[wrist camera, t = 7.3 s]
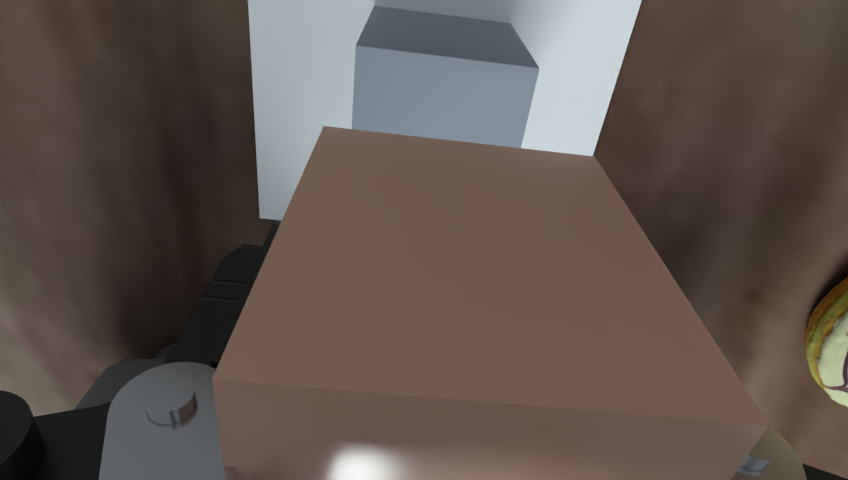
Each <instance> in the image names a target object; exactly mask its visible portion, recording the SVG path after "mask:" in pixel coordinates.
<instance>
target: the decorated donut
mask: <svg viewBox="0 0 848 480" xmlns="http://www.w3.org/2000/svg"><path fill="white" fill-rule="evenodd" d="M809 318H810V319H809V323H808V325H807V328H806V335H805V341H804V343H805V352H806V357H807V360H808V365H809V368H810V371H811V373H812V376H813V377H814V379H815V380H816V381H817V383H818V384H819V385H820V386H821V387H822V388H823V389H824V390H825V391H826V392H827V393H828V394H829V396H830V398H831V399H832V400H834V401H836V402H837V403H840V404H842V405H845V406H847V407H848V276H847V277H846V278H845V279H844V280H843V281H842V282H840V283H839V284H838V285H836V286H835V287H833V289H832V290H831V291H830V292H829V293H828V294H827V296H825V297H824V298H823V299H822V300H821V301H820V303H819V304H818V305H817V307H816V308H815V309H814V311H813V313H812V315H811V316H809Z"/></svg>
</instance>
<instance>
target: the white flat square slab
mask: <svg viewBox="0 0 848 480" xmlns="http://www.w3.org/2000/svg"><path fill="white" fill-rule="evenodd" d="M641 1H642V0H248V9H249V28H250V46H251V65H252V84H253V102H254V121H255V139H256V158H257V176H258V195H259V213H260V218H263V219H273V220H282V219H283V217H284V214H285V212H286V210H287V208H288V205H289V203H290V201H291V199H292V196H293V194H294V192H295V190H296V187H297V185H298V183H299V180H300V178H301V176H302V174H303V171H304V169H305V167H306V165H307V162H308V160H309V158H310V156H311V153H312V151H313V149H314V146H315V144H316V142H317V140H318V137H319V135H320V133H321V131H322V128H323V126H329V127H338V128H346V129H352V111H353V91H354V70H355V50H356V44H357V42H358V39H359V37H360V35H361V33H362V31H363V29H364V26H365V24H366V22H367V20H368V18H369V15H370V13H371V11H372V9H373V7H374V6H381V7H389V8H396V9H404V10H412V11H420V12H427V13H435V14H443V15H451V16H458V17H466V18H474V19H482V20H489V21H497V22H505V23H511V25H512V26H513V28H514V29H515V31H516V33H517V34H518V36H519V37H520V39H521V40H522V42H523V43H524V45H525V46H526V48H527V50H528V51H529V53H530V54H531V56H532V57H533V59H534V60H535V62H536V63H537V65H538V67H539V68H540V69H539V73H538V77H537V82H536V86H535V90H534V94H533V99H532V103H531V107H530V112H529V116H528V120H527V124H526V129H525V133H524V137H523V141H522V146H521V148H524V149H533V150H542V151H551V152H559V153H568V154H577V155H586V156H593V153H594V150H595V147H596V144H597V141H598V137H599V134H600V131H601V128H602V125H603V122H604V118H605V115H606V112H607V109H608V106H609V103H610V99H611V96H612V93H613V90H614V87H615V83H616V80H617V77H618V74H619V71H620V68H621V64H622V61H623V58H624V55H625V52H626V49H627V45H628V42H629V39H630V36H631V33H632V29H633V26H634V23H635V20H636V17H637V14H638V10H639V7H640V4H641Z"/></svg>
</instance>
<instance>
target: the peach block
mask: <svg viewBox="0 0 848 480" xmlns="http://www.w3.org/2000/svg"><path fill="white" fill-rule="evenodd" d="M212 384H213V392H214V399H215V406H216V414H217V421H218V429H219V436H220V443H221V451H222V458H223V465H224V466H226V467H237V476H238V480H731V478H732V477H733V476H734V474H735V473H736V471H737V470H738V469H739V467H740V466H741V464H742V463H743V462H744V460H745V459H746V457H747V456H748V454H749V453H750V452H751V450H752V449H753V447H754V446H755V445H756V443H757V442H758V440H759V439H760V438H761V436H762V435H763V433H764V432H765V431H766V429H767V428H768V426H769V424H768V422H767V421H766V419H765V418H764V416H763V415H762V413H761V412H760V410H759V408H758V407H757V405H756V404H755V402H754V401H753V399H752V398H751V396H750V395H749V393H748V392H747V390H746V388H745V387H744V385H743V384H742V382H741V381H740V379H739V378H738V376H737V375H736V373H735V372H734V370H733V368H732V367H731V365H730V364H729V362H728V361H727V359H726V358H725V356H724V355H723V353H722V352H721V350H720V349H719V347H718V345H717V344H716V342H715V341H714V339H713V338H712V336H711V335H710V333H709V332H708V330H707V329H706V327H705V325H704V324H703V322H702V321H701V319H700V318H699V316H698V315H697V313H696V312H695V310H694V309H693V307H692V306H691V304H690V302H689V301H688V299H687V298H686V296H685V295H684V293H683V292H682V290H681V289H680V287H679V286H678V284H677V282H676V281H675V279H674V278H673V276H672V275H671V273H670V272H669V270H668V269H667V267H666V266H665V264H664V262H663V261H662V259H661V258H660V256H659V255H658V253H657V252H656V250H655V249H654V247H653V246H652V244H651V243H650V241H649V239H648V238H647V236H646V235H645V233H644V232H643V230H642V229H641V227H640V226H639V224H638V223H637V221H636V219H635V218H634V216H633V215H632V213H631V212H630V210H629V209H628V207H627V206H626V204H625V203H624V201H623V199H622V198H621V196H620V195H619V193H618V192H617V190H616V189H615V187H614V186H613V184H612V183H611V181H610V180H609V178H608V176H607V175H606V173H605V172H604V170H603V169H602V167H601V166H600V164H599V163H598V161H597V160H596V158H595V156H586V155H577V154H568V153H559V152H551V151H542V150H533V149H524V148H515V147H506V146H497V145H488V144H480V143H471V142H462V141H453V140H444V139H435V138H426V137H417V136H409V135H400V134H391V133H382V132H373V131H364V130H355V129H346V128H338V127H329V126H323V128H322V131H321V133H320V135H319V137H318V140H317V142H316V144H315V146H314V149H313V151H312V153H311V156H310V158H309V160H308V162H307V165H306V167H305V169H304V171H303V174H302V176H301V178H300V180H299V183H298V185H297V187H296V190H295V192H294V194H293V196H292V199H291V201H290V203H289V205H288V208H287V210H286V212H285V214H284V217H283V219H282V221H281V224H280V226H279V228H278V230H277V233H276V235H275V237H274V239H273V242H272V244H271V246H270V248H269V251H268V253H267V255H266V258H265V260H264V262H263V264H262V267H261V269H260V271H259V273H258V276H257V278H256V280H255V282H254V285H253V287H252V289H251V292H250V294H249V296H248V298H247V301H246V303H245V305H244V307H243V310H242V312H241V314H240V317H239V319H238V321H237V323H236V326H235V328H234V330H233V332H232V335H231V337H230V339H229V341H228V344H227V346H226V348H225V351H224V353H223V355H222V357H221V360H220V362H219V364H218V366H217V369H216V371H215V373H214V375H213V378H212Z"/></svg>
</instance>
